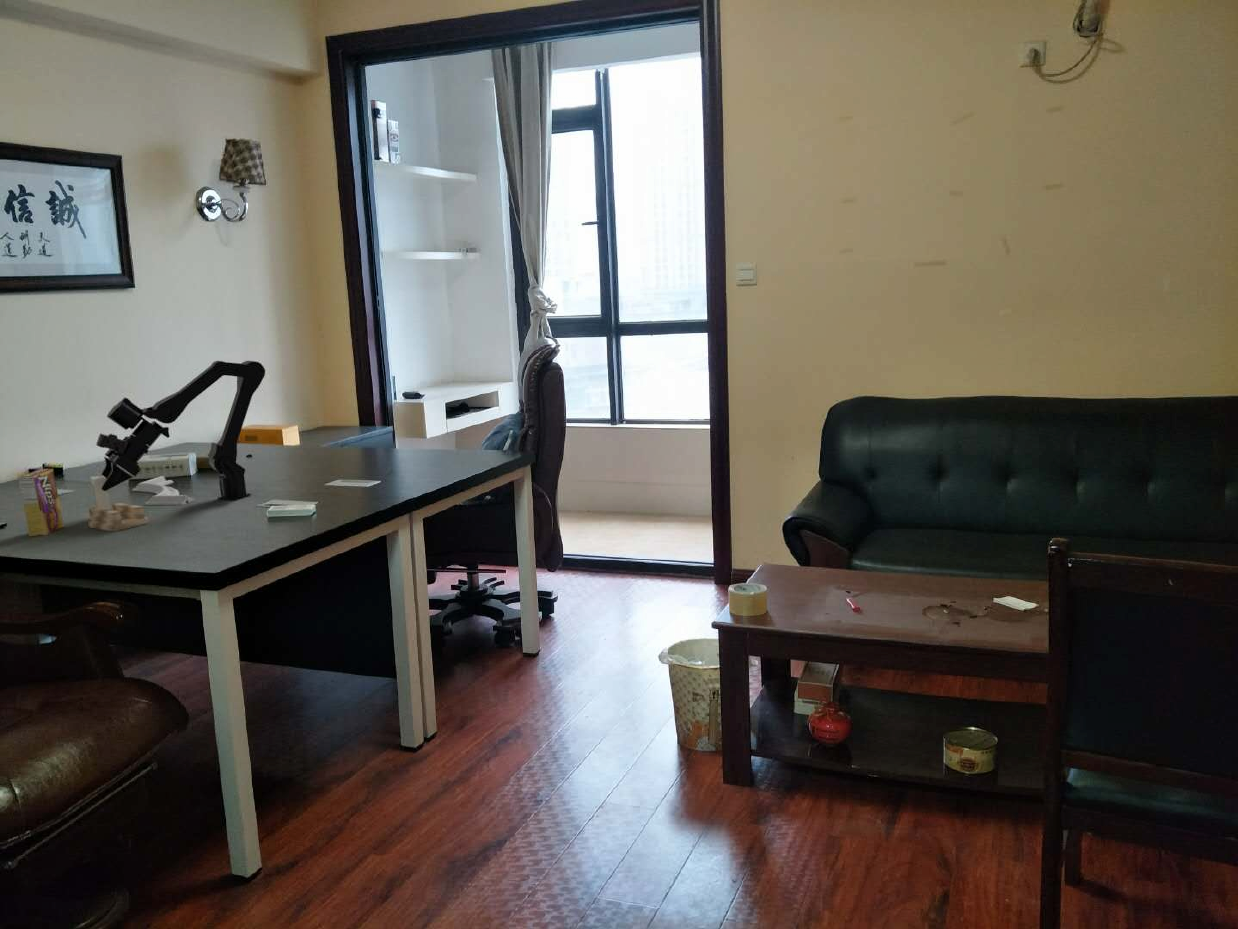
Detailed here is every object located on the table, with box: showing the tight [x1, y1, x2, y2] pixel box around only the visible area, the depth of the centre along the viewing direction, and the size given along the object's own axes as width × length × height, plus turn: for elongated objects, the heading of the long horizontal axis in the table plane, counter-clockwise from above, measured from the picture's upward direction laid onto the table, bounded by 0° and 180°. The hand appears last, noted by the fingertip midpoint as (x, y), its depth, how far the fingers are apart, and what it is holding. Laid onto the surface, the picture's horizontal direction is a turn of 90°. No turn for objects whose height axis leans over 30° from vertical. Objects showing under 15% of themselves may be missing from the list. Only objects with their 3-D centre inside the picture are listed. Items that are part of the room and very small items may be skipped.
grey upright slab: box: [90, 474, 112, 510], centre depth 263 cm, size 6×3×11 cm, turn 34°
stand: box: [87, 502, 149, 532], centre depth 255 cm, size 12×9×4 cm
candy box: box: [17, 468, 65, 537], centre depth 251 cm, size 9×4×15 cm, turn 0°
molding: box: [132, 475, 196, 506], centre depth 293 cm, size 42×12×3 cm, turn 33°
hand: (100, 487), depth 263 cm, fingers open, 9 cm apart
